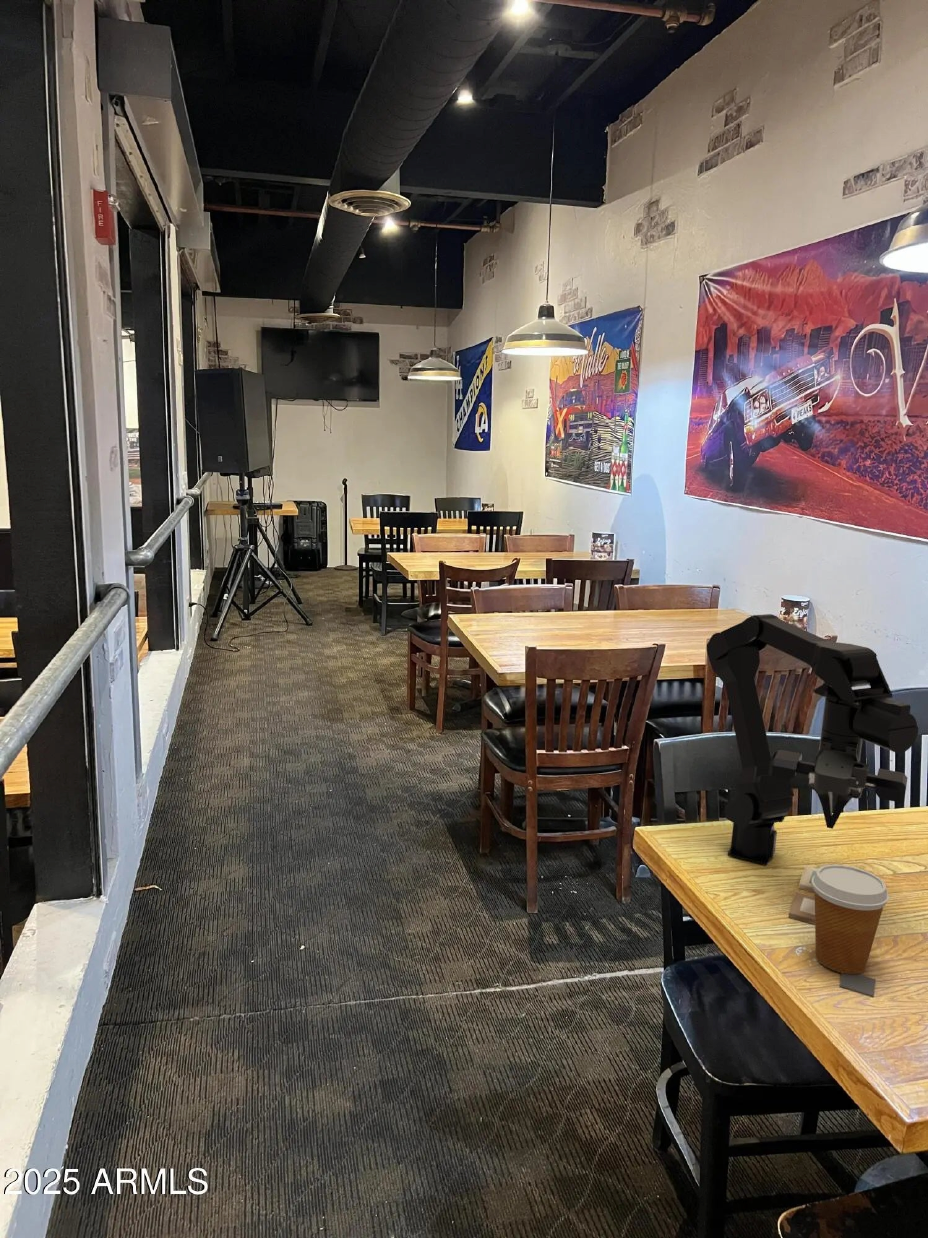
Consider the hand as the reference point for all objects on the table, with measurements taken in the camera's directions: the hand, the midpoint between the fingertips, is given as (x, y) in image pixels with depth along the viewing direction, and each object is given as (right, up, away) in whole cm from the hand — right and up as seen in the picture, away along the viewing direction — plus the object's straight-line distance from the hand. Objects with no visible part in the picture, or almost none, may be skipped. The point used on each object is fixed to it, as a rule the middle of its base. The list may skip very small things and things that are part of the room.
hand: (830, 827), depth 129 cm
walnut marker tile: (-3, -13, -2) cm, 13 cm away
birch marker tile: (+2, -11, +7) cm, 13 cm away
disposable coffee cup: (-5, -15, -14) cm, 21 cm away
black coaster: (-4, -16, -18) cm, 25 cm away
